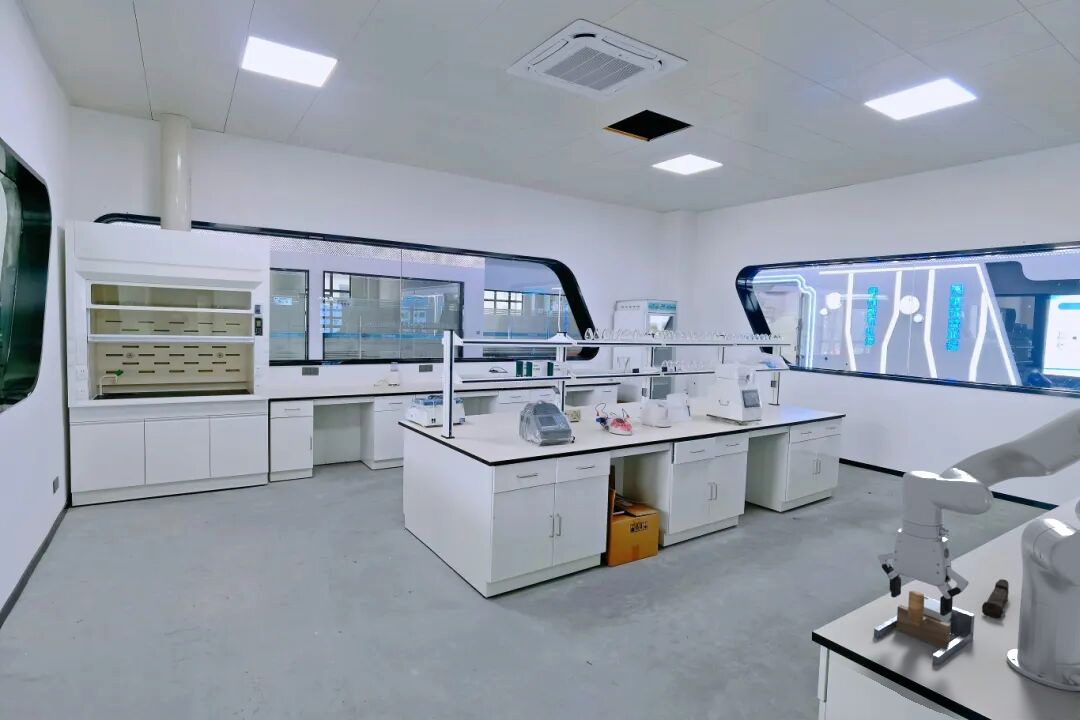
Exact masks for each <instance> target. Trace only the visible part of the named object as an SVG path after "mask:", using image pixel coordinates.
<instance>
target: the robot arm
mask: <svg viewBox="0 0 1080 720" xmlns="http://www.w3.org/2000/svg"><path fill="white" fill-rule="evenodd" d="M1078 462H1080V405H1079V406H1077V407H1075V408H1074V409H1071V410H1069V411H1068V412H1066V413H1064V414H1062V415H1060V416H1058V417H1056V418H1054V419H1053V420H1051V421H1049V422H1047V423H1045V424H1043V425H1041V426H1040V427H1037V428H1035V429H1034V430H1032V431H1030V432H1029V433H1026V434H1025V435H1023V436H1021V437H1019V438H1017V439H1014V440H1011V441H1009V442H1005V443H1002V444H999V445H996V446H993V447H991V448H987V449H983V450H982V451H978V452H976V453H973V454H971V455H969V456H967V457H966V458H964V459H962V460H960V461H959V462H957V463H955V464H953V465H951V466H949V467H948V468H946V469H945V470H943V471H942V472H941V473H940V474H937V473H934V472H930V471H924V470H910V471H907V472H905V473H903V475H902V483H901V484H902V487H901V488H902V489H901V494H902V495H901V521H900V522H901V523H900V525H901V527H900V528H899V529H898V530H897V534H896V535H895V541H894V547H893V551H890V552H885V553H881V554H877V559H878V561H879V563H880V565H881V569H882V570H883V571H884V573H885V574H886V575H887V579H889V592H890V597H891V598H894V599H895V598H897V597H898V596H900V595H901V593H902V578H901V576H904V577H905V578H910V579H912V580H915V581H919V582H921V583H925V584H928V585H931V586H933V587H936V588H938V591H940V593H941V595H942V596H941V597H940V600H939V601H940V614H941V615H942V616H945V615H947V614H948V613H949V612H951V611H952V606H953V602H954V601H953V600H954V597H955V596H958V595H960V594H961V593H963V591H964V590H965V589H966V588H967V587H968V585H969V584H970V583H969V581H968V580H967V579H966V578H964V577H963V576H962V575H961V574H959V573H957V572H956V571H955V570H953V568H952V558H951V551H950V545H949V541H948V538H946V537H950V536H951V534H952V533H951V530H949V529H947V528H945V524H944V511H945V510H947V511H951V512H955V513H959V514H964V515H969V516H970V515H971V516H975V515H976V516H977V515H981V514H982V515H983V514H985V513H987V512H988V511H990V510H991V508H992V507H993V505H994V502H995V501H994V500H995V499H994V495H993V493H992V491H991V490H990V487H992V486H994V485H996V484H998V483H1001V482H1004V481H1008V480H1012V479H1017V478H1039V477H1040V478H1041V477H1049V476H1053V475H1055V474H1057V473H1059V472H1061V471H1063V470H1064V469H1066V468H1068V467H1070V466H1072V465H1075V464H1076V463H1078ZM1074 508H1075V509H1074V512H1075V515H1076V518H1077V520H1078V521H1079V522H1080V499H1079V500H1078V501H1077V502H1076V504H1075V506H1074ZM1020 551H1021V552H1020V553H1021V562H1022V581H1021V582H1022V583H1021V594H1020V608H1019V617H1018V618H1019V620H1018V632H1017V633H1018V634H1017V635H1018V636H1017V647H1016V648H1013V649H1011V650H1009V651H1008V652H1007V654H1006V660H1007V663H1008V664H1009V665H1010V666H1011V667H1012V669H1014V670H1015V671H1017V672H1018V673H1019V674H1022V675H1023V676H1024V677H1026V678H1028V679H1030V680H1033V681H1035V682H1037V683H1039V684H1042V685H1045V686H1048V687H1050V688H1051V687H1052V688H1055V689H1059V690H1064V691H1071V692H1080V529H1078V528H1076V527H1074V526H1073V525H1071V524H1070V523H1067V522H1065V521H1063V520H1059V519H1055V518H1050V517H1049V518H1048V517H1046V518H1039V519H1036V520H1033V521H1031V522H1029V523H1028V524H1027V525H1026V526H1025V528H1024V529H1023V531H1022V534H1021V537H1020ZM889 560H892V565H891V564H890V563H889ZM951 580H952V581H955V582H956V585H955V586H954V587H952V585H951V584H950V582H951Z"/></svg>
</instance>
